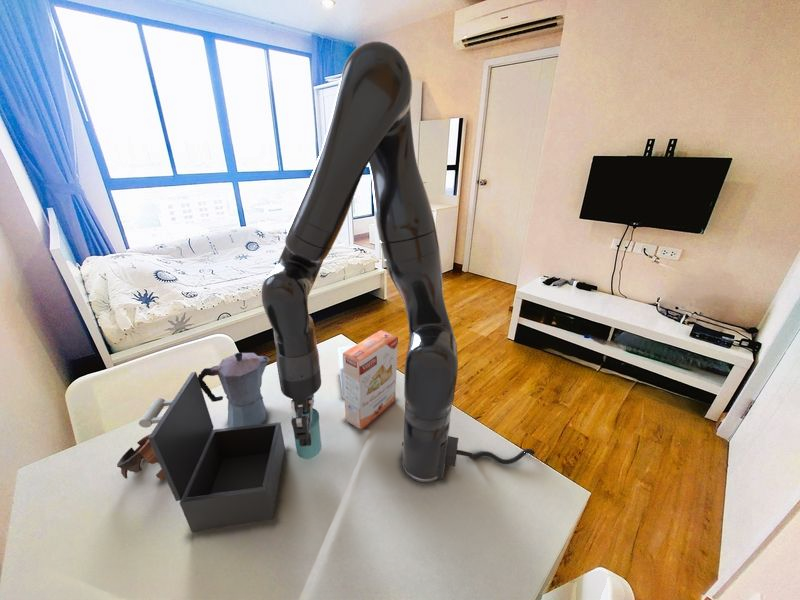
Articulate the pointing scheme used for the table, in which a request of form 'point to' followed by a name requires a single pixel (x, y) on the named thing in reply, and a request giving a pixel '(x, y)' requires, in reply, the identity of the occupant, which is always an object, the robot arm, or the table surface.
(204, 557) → the table surface
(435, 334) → the robot arm
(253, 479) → the open box
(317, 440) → the container
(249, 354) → the moka pot
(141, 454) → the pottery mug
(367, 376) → the cracker box
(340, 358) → the cosmetics box
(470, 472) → the table surface
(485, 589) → the table surface
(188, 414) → the lid
